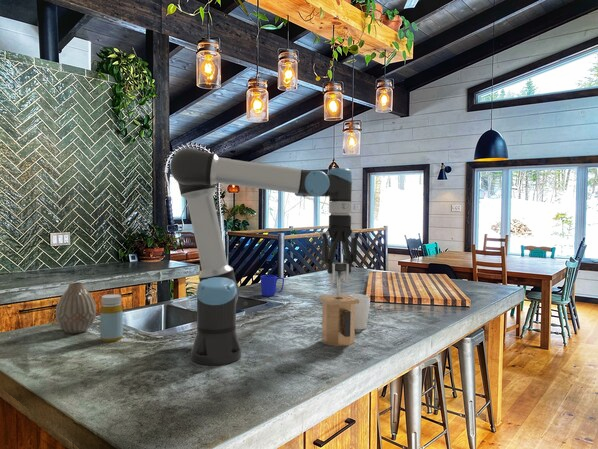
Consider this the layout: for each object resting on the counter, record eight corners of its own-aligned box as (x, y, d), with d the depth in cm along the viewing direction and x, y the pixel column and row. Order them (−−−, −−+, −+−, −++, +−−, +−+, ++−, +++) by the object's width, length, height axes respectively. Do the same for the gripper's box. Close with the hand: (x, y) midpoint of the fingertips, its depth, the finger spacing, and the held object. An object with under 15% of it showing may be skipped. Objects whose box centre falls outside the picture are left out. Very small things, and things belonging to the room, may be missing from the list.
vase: (50, 331, 161) (49, 283, 160) (87, 324, 170) (87, 278, 169) (63, 338, 152) (63, 288, 151) (102, 331, 161) (102, 283, 161)
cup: (368, 331, 165) (369, 299, 164) (344, 329, 167) (345, 298, 166) (369, 324, 174) (370, 294, 173) (346, 323, 176) (347, 293, 175)
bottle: (117, 335, 157) (117, 293, 156) (126, 339, 152) (125, 296, 151) (97, 339, 152) (96, 295, 151) (105, 343, 147) (104, 299, 146)
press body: (332, 349, 144) (333, 303, 143) (318, 338, 156) (319, 295, 155) (361, 347, 147) (362, 302, 146) (345, 335, 159) (346, 294, 159)
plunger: (332, 326, 148) (333, 265, 147) (324, 320, 155) (324, 262, 154) (353, 324, 150) (354, 264, 149) (344, 318, 157) (345, 261, 156)
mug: (283, 297, 223) (283, 277, 222) (259, 297, 223) (259, 277, 222) (284, 294, 231) (284, 275, 230) (261, 293, 231) (261, 274, 231)
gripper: (319, 214, 144) (319, 285, 146) (368, 214, 150) (367, 283, 151) (312, 214, 152) (311, 281, 153) (358, 214, 157) (357, 279, 158)
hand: (339, 282), depth 152 cm, fingers closed on plunger, 4 cm apart
